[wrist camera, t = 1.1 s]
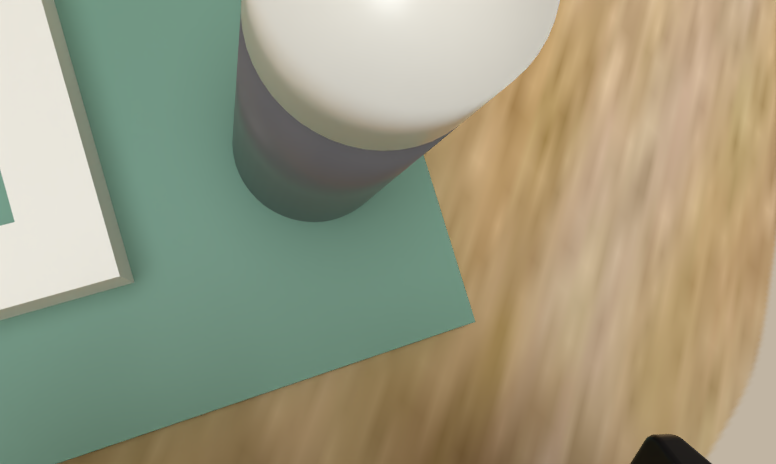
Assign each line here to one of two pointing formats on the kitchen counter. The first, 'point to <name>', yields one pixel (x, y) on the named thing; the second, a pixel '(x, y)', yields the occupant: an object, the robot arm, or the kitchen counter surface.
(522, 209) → the kitchen counter surface
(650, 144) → the kitchen counter surface
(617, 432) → the kitchen counter surface
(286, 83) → the dome-topped cylinder
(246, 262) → the board
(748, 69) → the kitchen counter surface
